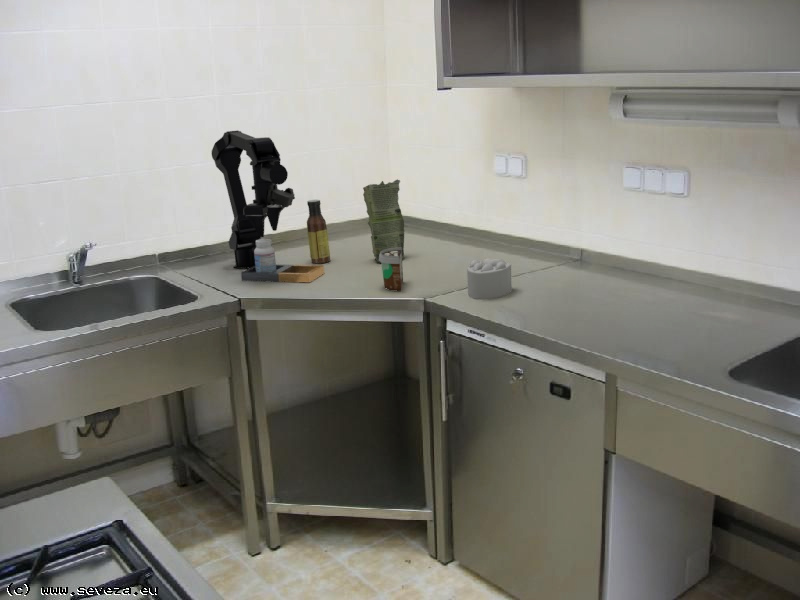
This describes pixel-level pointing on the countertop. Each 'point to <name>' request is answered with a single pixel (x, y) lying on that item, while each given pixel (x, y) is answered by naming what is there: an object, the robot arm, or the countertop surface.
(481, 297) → the lumpy-topped squat cylinder
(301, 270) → the metal frame
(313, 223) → the sauce bottle
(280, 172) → the robot arm
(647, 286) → the countertop surface
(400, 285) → the food container
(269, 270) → the pill bottle
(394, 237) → the pouch
